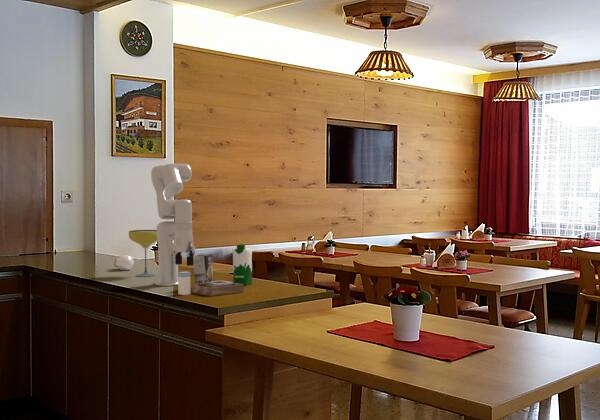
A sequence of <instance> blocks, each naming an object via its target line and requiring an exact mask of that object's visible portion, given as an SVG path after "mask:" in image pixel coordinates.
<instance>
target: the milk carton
mask: <svg viewBox="0 0 600 420" xmlns="http://www.w3.org/2000/svg"><path fill="white" fill-rule="evenodd" d="M252 256H253V248H249V247H248V248H247V247H246V245H245V244H236V248H232V273H233V274H232V277H233V279H232V280H233V281H232V282H233V283H237V284H243V285H244V287H245V286H246V287H247V286H250V285H252V284H253V282H252V281H253V268H252V267H253V261H252V259H253V257H252Z"/></svg>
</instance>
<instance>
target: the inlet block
mask: <svg viewBox="0 0 600 420" xmlns="http://www.w3.org/2000/svg"><path fill="white" fill-rule="evenodd" d="M226 286H233V281H228V280H223V279H222V280H213V281H211V282H206V287H207V288H217V287H226Z"/></svg>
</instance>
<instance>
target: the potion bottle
mask: <svg viewBox="0 0 600 420" xmlns="http://www.w3.org/2000/svg"><path fill="white" fill-rule="evenodd" d="M134 263H135V261H134V258H133V257H132V256H131V255H129V254H122V255H121V256H119V257H118V258H116V259H114V267H116V268H117V267H118V268H117V269H119V268H120V269H119V270H122V271H123V270H126V271H130V270H132V269H133V267H134V265H135V264H134ZM129 269H130V270H129Z"/></svg>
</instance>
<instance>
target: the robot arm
mask: <svg viewBox="0 0 600 420" xmlns="http://www.w3.org/2000/svg"><path fill="white" fill-rule="evenodd" d="M150 173H151V174H150V177H151V182H152V185H153V188H154V190H155V193H156V204H157V207H156V208H157V214H158V217H159V218H160V219H162V220H167V221H160V222H159V223H158V224H157V225H156V229H155V230H156V232H157V238H158V241H157V247H158V249H157V250H158V276H157V275H156V278H157V279H158V281H156V282H155V285H156V286H159V287H160V286H162V287H163V286H164V287H168V286H169V287H171V286H178V272H179V265H182V264H183V255H182V254H183V253H185V254H186V266H188V267H189V266H195V261H194V257H195V253H196V252H195V251H196V246H195V244H194V235H193V205H192V203H193V202H192V201H191V200H189V199H175V196H177V195H178V194H180V193H181V192H183V189H184V184H183V183H186V182H190V180H191V179H192V177H193V176H192V175H193V171H192V168H191V166H190V165H189V164H188V163H167V164H163V165H162V164H160V165H155V166H153V167H152V169H151V172H150ZM168 220H170V221H168ZM171 220H172V221H171ZM173 220H174V221H173Z"/></svg>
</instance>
